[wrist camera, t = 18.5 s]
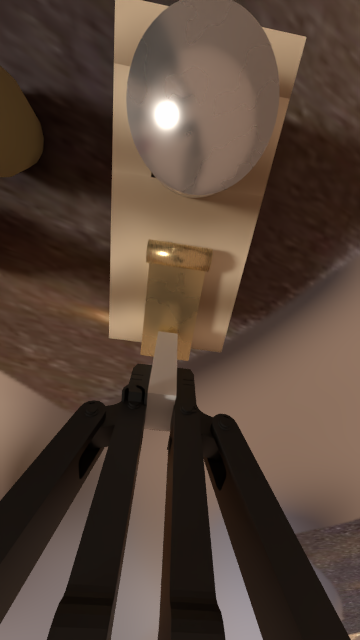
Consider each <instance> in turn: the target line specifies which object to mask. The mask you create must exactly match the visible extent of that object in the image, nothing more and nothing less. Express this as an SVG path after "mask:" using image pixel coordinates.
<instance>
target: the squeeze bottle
mask: <svg viewBox="0 0 360 640" xmlns="http://www.w3.org/2000/svg"><path fill="white" fill-rule="evenodd" d="M43 143H44V137H43V132H42V128H41V124H40V122H39V120H38V118H37V116H36V115H35V113H34V111H33V109H32V108H31V106H30V104H29V103H28V101H27V99H26V97H25V96H24V94H23V92H22V91H21V89H20V87H19V85H18V84H17V82H16V80H15V79H14V78H13V77H12V76H11V75H10V74H9V73H8V72H7V71H6V70H4V69H3V68H2V67H1V66H0V177H12V176H14V175H16V174H18V173H20V172H22V171H24V170H26V169H28V168H29V167H31V166H32V165H34V164H36V163H37V162H38V160H39V158H40V156H41V154H42V153H43Z"/></svg>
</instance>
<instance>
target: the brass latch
mask: <svg viewBox="0 0 360 640" xmlns="http://www.w3.org/2000/svg"><path fill="white" fill-rule="evenodd" d="M212 255H213V250H212V249H209V248H203V247H197V246H190V245H184V244H177V243H171V242H165V241H158V240H152V239H149V240H148V244H147V251H146V263H149V271H148V282H147V292H146V303H145V313H144V323H143V334H142V344H141V355H146V356H154V353H155V347H156V342H157V336H158V331H161V332H168V333H176V334H178V338H177V359H178V360H186V361H188V359H189V354H190V349H191V344H192V339H193V333H194V328H195V323H196V318H197V312H198V307H199V302H200V297H201V292H202V286H203V281H204V276H205V272H209V270H210V266H211V262H212Z"/></svg>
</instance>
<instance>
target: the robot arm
mask: <svg viewBox="0 0 360 640" xmlns="http://www.w3.org/2000/svg"><path fill="white" fill-rule="evenodd" d="M177 338H178V334H176V333H168V332H161V331H158V336H157V342H156V347H155V353H154V359H153V364H152V365H145V364H137V365H136V366H135V367H134V368H133V371H132V375H131V378H130V381H129V384H128V385H127V386H125V387H124V388H123V390H122V401H121V402H119V403H117V404H115V405H110V406H105V405H104V404H103V403H102V402H100V401H88V402H86V403H84V404H83V405H82V406H80V407H79V409H78V410H77V411H76V412H75V413H74V415H73V416H72V417H71V418H70V419H69V420H68V422H67V423H66V424H65V425H64V426H63V427H62V429H61V430H60V431H59V432H58V433H57V435H56V436H55V437H54V438H53V439H52V440H51V442H50V443H49V444H48V445H47V446H46V448H45V449H44V450H43V451H42V452H41V453H40V455H39V456H38V457H37V458H36V459H35V460H34V462H33V463H32V464H31V465H30V466H29V468H28V469H27V470H26V471H25V472H24V473H23V475H22V476H21V477H20V478H19V479H18V481H17V482H16V483H15V484H14V485H13V486H12V488H11V489H10V490H9V491H8V492H7V494H6V495H5V496H4V497H3V498H2V500H1V501H0V623H1V622H2V620H3V618H4V617H5V615H6V613H7V612H8V610H9V608H10V607H11V605H12V603H13V602H14V600H15V598H16V596H17V595H18V593H19V591H20V590H21V588H22V586H23V585H24V583H25V581H26V579H27V578H28V576H29V574H30V573H31V571H32V569H33V568H34V566H35V564H36V563H37V561H38V559H39V558H40V556H41V554H42V552H43V551H44V549H45V547H46V546H47V544H48V542H49V541H50V539H51V537H52V536H53V534H54V532H55V531H56V529H57V527H58V525H59V524H60V522H61V520H62V519H63V517H64V515H65V514H66V512H67V510H68V509H69V507H70V505H71V503H72V502H73V500H74V498H75V497H76V495H77V493H78V492H79V490H80V488H81V487H82V485H83V483H84V481H85V480H86V478H87V476H88V475H89V473H90V471H91V469H92V468H93V466H94V464H95V463H96V461H97V459H98V458H99V456H100V454H101V453H102V451H103V449H104V447H107V446H108V450H107V453H106V457H105V460H104V463H103V467H102V470H101V473H100V477H99V480H98V484H97V487H96V490H95V494H94V498H93V500H92V504H91V508H90V511H89V514H88V517H87V521H86V524H85V528H84V531H83V534H82V538H81V541H80V544H79V548H78V551H77V555H76V558H75V561H74V565H73V568H72V571H71V575H70V578H69V581H68V585H67V588H66V591H65V593H64V596H63V598H62V600H61V601H60V603H59V605H58V608H57V610H56V613H55V615H54V619H53V622H52V625H51V628H50V631H49V634H48V637H47V640H111V634H112V627H113V620H114V613H115V608H116V601H117V595H118V589H119V583H120V576H121V570H122V564H123V557H124V550H125V545H126V538H127V532H128V526H129V520H130V514H131V507H132V500H133V495H134V489H135V482H136V476H137V470H138V464H139V456H140V451H141V445H142V438H143V430H144V429H150V430H159V431H170V436H169V441H168V447H167V450H168V464H167V484H166V502H165V503H166V504H165V521H164V541H163V560H162V579H161V600H160V618H159V632H158V640H225V632H224V625H223V619H222V615H221V611H220V609H219V607H218V604H217V600H216V593H215V583H214V571H213V560H212V549H211V538H210V527H209V516H208V506H207V494H206V483H205V471H204V462H205V465H206V467H207V470H208V474H209V477H210V480H211V483H212V486H213V489H214V492H215V495H216V498H217V501H218V504H219V507H220V510H221V513H222V516H223V519H224V522H225V525H226V529H227V531H228V535H229V537H230V541H231V544H232V547H233V550H234V553H235V556H236V559H237V562H238V565H239V568H240V571H241V574H242V577H243V580H244V583H245V586H246V589H247V592H248V595H249V598H250V601H251V604H252V607H253V610H254V614H255V616H256V620H257V623H258V626H259V629H260V632H261V635H262V638H263V640H351V639H350V637H349V636H348V634H347V632H346V630H345V628H344V626H343V624H342V622H341V620H340V618H339V617H338V615H337V613H336V611H335V609H334V607H333V605H332V603H331V601H330V600H329V598H328V596H327V594H326V592H325V590H324V588H323V586H322V584H321V582H320V581H319V579H318V577H317V575H316V573H315V571H314V569H313V567H312V565H311V563H310V562H309V560H308V558H307V556H306V554H305V552H304V550H303V548H302V546H301V545H300V543H299V541H298V539H297V537H296V535H295V533H294V531H293V529H292V527H291V526H290V524H289V522H288V520H287V518H286V516H285V514H284V512H283V511H282V508H281V507H280V505H279V503H278V501H277V499H276V497H275V495H274V493H273V491H272V489H271V488H270V486H269V484H268V482H267V480H266V478H265V476H264V474H263V472H262V471H261V469H260V467H259V465H258V463H257V461H256V459H255V457H254V455H253V453H252V452H251V450H250V448H249V446H248V444H247V442H246V440H245V438H244V436H243V435H242V433H241V431H240V429H239V427H238V425H237V423H236V422H235V420H234V419H233V418H231V417H230V416H228V415H226V414H218V415H216V416H214V417H211V416H208V415H206V414H204V413H203V412H201V411H200V410H199V409H198V407H197V405H196V396H195V384H194V374H193V373H192V371H191V370H190V369H182V368H177ZM203 459H204V460H203ZM203 461H204V462H203Z"/></svg>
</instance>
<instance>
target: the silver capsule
mask: <svg viewBox="0 0 360 640" xmlns="http://www.w3.org/2000/svg"><path fill="white" fill-rule="evenodd" d="M126 104H127V116H128V123H129V127H130V131H131V135H132V138H133V141H134V144H135V146H136V148H137V150H138V152H139V155H140V156H141V158H142V160H143V161H144V163H145V164H146V166H147V167H148V168H149V169H150V171H151V172H152V173H153V175H154V176H155V177H156V178H157V180H158V181H159V182H160V183H161V184H162V185H163V186H164V187H166V188H167V189H168V190H170V191H172V192H173V193H175V194H178V195H180V196H183V197H188V198H202V197H207V196H210V195H213V194H215V193H218V192H220V191H223V190H225V189H227V188H229V187H231V186H233V185H234V184H236V183H237V182H238V181H240V180H241V179H242V178H243V177H244V176H246V175H247V174H248V173H249V172H250V170H251V169H252V168H253V167H254V166H255V165H256V163H257V162H258V160H259V159H260V157H261V156H262V154H263V153H264V151H265V149H266V147H267V145H268V143H269V140H270V138H271V136H272V133H273V129H274V126H275V123H276V118H277V113H278V106H279V75H278V68H277V63H276V58H275V55H274V52H273V49H272V46H271V43H270V41H269V39H268V37H267V35H266V33H265V31H264V30H263V28H262V27H261V25H260V24H259V22H258V21H257V20H256V19H255V18H254V17H253V16H252V14H251V13H250V12H249V11H247V10H246V9H245V8H244V7H242V6H241V5H240V4H238V3H236V2H234V1H232V0H180V1H178V2H176V3H174V4H172V5H171V6H169V7H168V8H167V9H165V10H164V11H163V12H162V13H161V14H160V15H159V16H158V17H157V18H156V19H155V20H154V21H153V22H152V23H151V25H150V26H149V27H148V29H147V30H146V31H145V33H144V35H143V37H142V38H141V40H140V42H139V44H138V46H137V49H136V51H135V53H134V56H133V59H132V63H131V66H130V70H129V76H128V81H127V93H126Z"/></svg>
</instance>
